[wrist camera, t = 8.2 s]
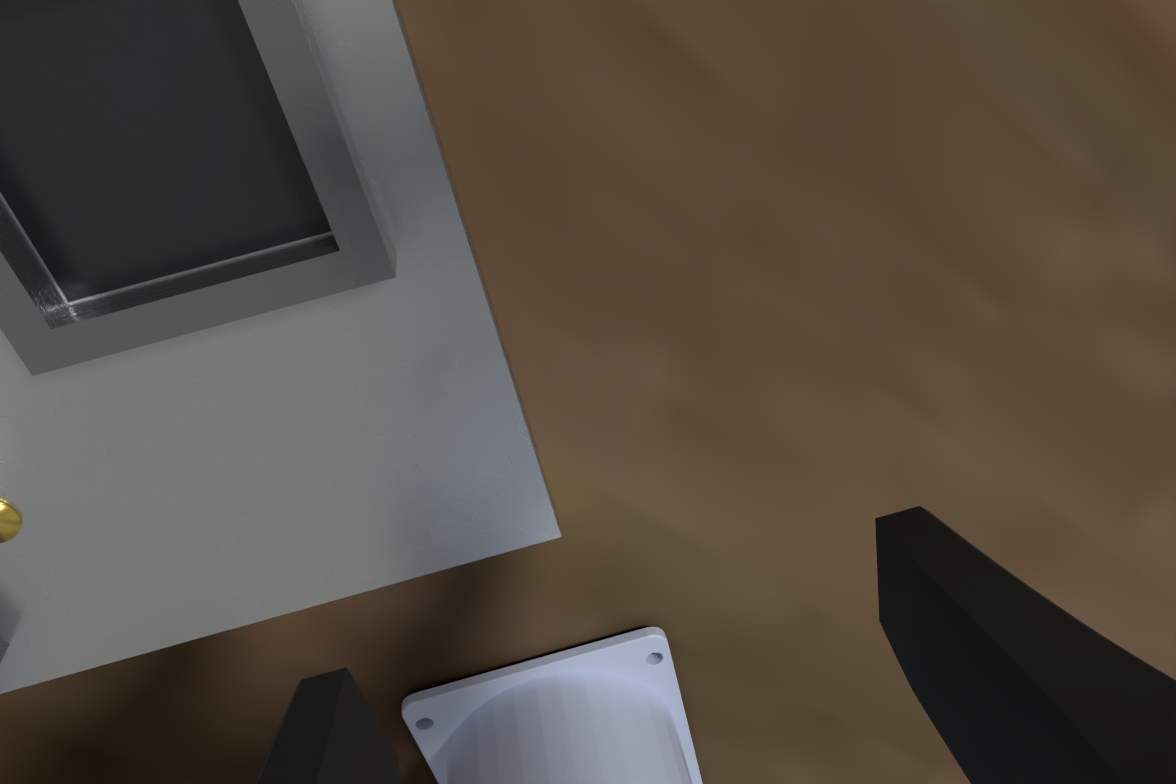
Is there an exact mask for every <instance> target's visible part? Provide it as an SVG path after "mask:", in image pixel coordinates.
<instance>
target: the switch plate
mask: <svg viewBox="0 0 1176 784" xmlns="http://www.w3.org/2000/svg"><path fill="white" fill-rule="evenodd" d="M559 537H561V532H560V528H559V523H558V518H557V513H556V510H555V506H554V503H553V500H552V497H551V494H550V490H549V487H548V484H547V481H546V478H545V475H544V471H543V468H542V465H541V462H540V459H539V455H538V452H537V449H536V446H535V443H534V440H533V436H532V433H531V430H530V427H529V424H528V420H527V417H526V414H525V411H524V408H523V405H522V401H521V398H520V395H519V392H518V389H517V385H516V382H515V379H514V376H513V373H512V369H511V366H510V363H509V360H508V357H507V354H506V350H505V347H504V344H503V341H502V338H501V334H500V331H499V328H498V325H497V322H496V319H495V315H494V312H493V309H492V306H491V303H490V299H489V296H488V293H487V290H486V287H485V284H484V280H483V277H482V274H481V271H480V268H479V264H478V261H477V258H476V255H475V252H474V249H473V245H472V242H471V239H470V236H469V233H468V229H467V226H466V223H465V220H464V217H463V213H462V210H461V207H460V204H459V201H458V198H457V194H456V191H455V188H454V185H453V182H452V178H451V175H450V172H449V169H448V166H447V163H446V159H445V156H444V153H443V150H442V147H441V143H440V140H439V137H438V134H437V131H436V128H435V124H434V121H433V118H432V115H431V112H430V108H429V105H428V102H427V99H426V96H425V93H424V89H423V86H422V83H421V80H420V77H419V73H418V70H417V67H416V64H415V61H414V57H413V54H412V51H411V48H410V45H409V42H408V38H407V35H406V32H405V29H404V26H403V22H402V19H401V16H400V13H399V10H398V7H397V3H396V0H0V694H1V693H5V692H9V691H12V690H16V689H19V688H23V687H26V686H30V685H34V684H37V683H41V682H44V681H48V680H51V679H55V678H59V677H62V676H66V675H69V674H73V673H76V672H80V671H84V670H87V669H91V668H94V667H98V666H101V665H105V664H109V663H112V662H116V661H119V660H123V659H126V658H130V657H134V656H137V655H141V654H144V653H148V652H151V651H155V650H159V649H162V648H166V647H169V646H173V645H176V644H180V643H184V642H187V641H191V640H194V639H198V638H201V637H205V636H209V635H212V634H216V633H219V632H223V631H226V630H230V629H234V628H237V627H241V626H244V625H248V624H251V623H255V622H259V621H262V620H266V619H269V618H273V617H277V616H280V615H284V614H287V613H291V612H294V611H298V610H302V609H305V608H309V607H312V606H316V605H319V604H323V603H327V602H330V601H334V600H337V599H341V598H344V597H348V596H352V595H355V594H359V593H362V592H366V591H369V590H373V589H377V588H380V587H384V586H387V585H391V584H394V583H398V582H402V581H405V580H409V579H412V578H416V577H419V576H423V575H427V574H430V573H434V572H437V571H441V570H444V569H448V568H452V567H455V566H459V565H462V564H466V563H469V562H473V561H477V560H480V559H484V558H487V557H491V556H494V555H498V554H502V553H505V552H509V551H512V550H516V549H519V548H523V547H527V546H530V545H534V544H537V543H541V542H544V541H548V540H552V539H555V538H559Z"/></svg>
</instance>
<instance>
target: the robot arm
mask: <svg viewBox="0 0 1176 784" xmlns="http://www.w3.org/2000/svg"><path fill="white" fill-rule="evenodd" d="M875 521H876V546H877V571H878V595H879V620H880V623H881V625H882V627H883V630H884V632H885V634H886V636H887V638H888V640H889V642H890V645H891V647H892V649H893V651H894V653H895V655H896V657H897V659H898V661H899V664H900V666H901V668H902V670H903V672H904V674H905V676H906V678H907V680H908V682H909V684H910V686H911V688H912V690H913V692H914V693H915V695H916V697H917V698H918V700H919V701H920V703H921V705H922V706H923V708H924V710H925V711H926V713H927V714H928V716H929V718H930V719H931V721H932V722H933V724H934V726H935V727H936V729H937V730H938V732H939V734H940V735H941V737H942V738H943V740H944V742H945V743H946V745H947V746H948V748H949V750H950V751H951V753H952V754H953V756H954V758H955V759H956V761H957V762H958V764H959V765H960V767H961V769H962V770H963V772H964V773H965V775H966V777H967V778H968V780H969V781H970V783H971V784H1176V680H1174V679H1173V678H1171V677H1169V676H1168V675H1166V674H1164V673H1163V672H1161V671H1159V670H1157V669H1156V668H1154V667H1152V666H1151V665H1149V664H1147V663H1146V662H1144V661H1142V660H1141V659H1139V658H1138V657H1136V656H1134V655H1133V654H1131V653H1129V652H1128V651H1126V650H1125V649H1123V648H1121V647H1120V646H1118V645H1117V644H1115V643H1113V642H1112V641H1110V640H1108V639H1107V638H1105V637H1104V636H1102V635H1101V634H1099V633H1098V632H1096V631H1094V630H1093V629H1091V628H1090V627H1088V626H1087V625H1085V624H1084V623H1082V622H1081V621H1079V620H1078V619H1076V618H1075V617H1073V616H1072V615H1070V614H1069V613H1067V612H1066V611H1064V610H1063V609H1061V608H1060V607H1059V606H1057V605H1056V604H1054V603H1053V602H1051V601H1050V600H1048V599H1047V598H1045V597H1044V596H1042V595H1041V594H1040V593H1038V592H1037V591H1035V590H1034V589H1032V588H1031V587H1029V586H1028V585H1027V584H1025V583H1024V582H1022V581H1021V580H1020V579H1018V578H1017V577H1015V576H1014V575H1013V574H1011V573H1010V572H1008V571H1007V570H1006V569H1004V568H1003V567H1002V566H1000V565H999V564H997V563H996V562H995V561H993V560H992V559H991V558H989V557H988V556H987V555H985V554H984V553H983V552H981V551H980V550H979V549H977V548H976V547H975V546H973V545H972V544H971V543H969V542H968V541H967V540H965V539H964V538H963V537H961V536H960V535H959V534H957V533H956V532H955V531H953V530H952V529H951V528H950V527H948V526H947V525H946V524H944V523H943V522H942V521H940V520H939V519H938V518H937V517H935V516H934V515H933V514H931V513H930V512H929V511H927V510H926V509H924V508H922V507H920V506H918V507H914V508H911V509H907V510H904V511H900V512H897V513H893V514H890V515H886V516H882V517H879V518H875ZM652 653H654V654H652ZM402 717H403V719H404V721H405V723H406V724H407V726H408V728H409V730H410V732H411V734H412V735H413V737H414V739H415V741H416V743H417V745H418V747H419V748H420V750H421V752H422V754H423V756H424V758H425V759H426V761H427V763H428V765H429V767H430V769H431V771H432V772H433V774H434V776H435V778H436V780H437V782H438V784H702V779H701V775H700V771H699V767H698V763H697V759H696V755H695V751H694V747H693V743H692V739H691V735H690V731H689V727H688V723H687V719H686V714H685V710H684V706H683V702H682V698H681V694H680V690H679V686H678V682H677V678H676V674H675V670H674V666H673V662H672V658H671V653H670V649H669V645H668V641H667V638H666V635H665V633H664V631H663V630H662V629H660V628H657V627H646V628H642V629H639V630H635V631H632V632H628V633H625V634H621V635H618V636H614V637H611V638H607V639H604V640H600V641H596V642H593V643H589V644H586V645H582V646H579V647H575V648H572V649H568V650H565V651H561V652H558V653H554V654H550V655H547V656H543V657H540V658H536V659H533V660H529V661H526V662H522V663H519V664H515V665H512V666H508V667H505V668H501V669H497V670H494V671H490V672H487V673H483V674H480V675H476V676H473V677H469V678H466V679H462V680H459V681H455V682H451V683H448V684H444V685H441V686H437V687H434V688H430V689H427V690H423V691H420V692H416V693H413V694H411V695H409V696H407V697H406V698H405V699H404V700H403V702H402ZM422 718H424V719H422ZM255 784H400V772H399V761H398V757H397V755H396V753H395V751H394V750H393V748H392V746H391V744H390V743H389V741H388V739H387V737H386V736H385V734H384V732H383V730H382V729H381V727H380V725H379V723H378V722H377V720H376V718H375V716H374V715H373V713H372V711H371V709H370V708H369V706H368V704H367V702H366V701H365V699H364V697H363V695H362V694H361V692H360V690H359V688H358V687H357V685H356V683H355V681H354V680H353V678H352V676H351V674H350V672H349V671H348V669H347V667H346V668H343V669H339V670H336V671H332V672H329V673H325V674H321V675H318V676H314V677H311V678H307V679H304V680H301V682H300V683H299V685H298V686H297V688H296V690H295V692H294V695H293V697H292V699H291V702H290V704H289V706H288V709H287V711H286V713H285V716H284V718H283V720H282V723H281V725H280V727H279V730H278V732H277V734H276V737H275V739H274V741H273V744H272V746H271V748H270V750H269V753H268V755H267V757H266V759H265V762H264V764H263V766H262V768H261V771H260V773H259V775H258V777H257V780H256V782H255Z"/></svg>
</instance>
